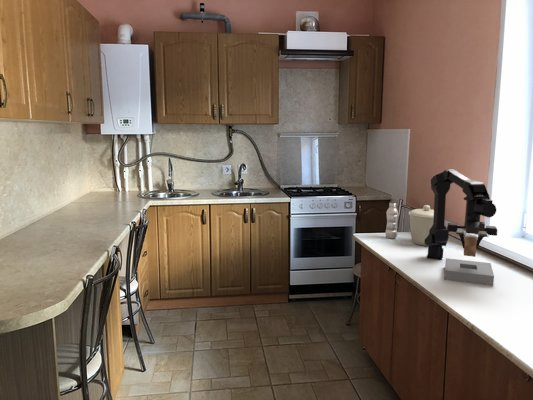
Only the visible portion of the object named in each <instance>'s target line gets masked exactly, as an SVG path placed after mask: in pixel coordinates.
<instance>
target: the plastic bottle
mask: <svg viewBox="0 0 533 400" xmlns="http://www.w3.org/2000/svg"><path fill="white" fill-rule="evenodd" d="M388 204H389V205H388V208H387V210H386V229H385V232H384V233H385V236H386V238H388V239H396V238H397V237H398V226H397V224H398V216H399V211H398V208H397V202H389V203H388Z"/></svg>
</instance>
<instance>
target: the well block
mask: <svg viewBox="0 0 533 400" xmlns="http://www.w3.org/2000/svg"><path fill="white" fill-rule="evenodd" d="M444 263H445V265H444V281H445V280H446V281H452V282H453V281H454V282H461V283H469V284H470V283H471V284H478V285H483V286H494V281H495V274H494V270H493V267H492V264H491V262H485V261H474V260H467V259H466V260H465V259H459V258H458V259H456V258H447V257H446V258H445V262H444Z"/></svg>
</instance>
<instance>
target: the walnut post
mask: <svg viewBox="0 0 533 400" xmlns="http://www.w3.org/2000/svg"><path fill="white" fill-rule="evenodd" d="M477 237H478V235H477V234H474V235H473V234H464V244H465V245H464V248H463V256H466V257H472V258H473V257H476V255H477V253H476V252H477V250H476V244H477Z"/></svg>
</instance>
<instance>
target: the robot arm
mask: <svg viewBox="0 0 533 400" xmlns="http://www.w3.org/2000/svg"><path fill="white" fill-rule="evenodd" d="M451 184H455V185H456V186H458V187H459V188H461V189H462V190H461V191H462V192H463V193H464V195H465V196H464V197H463V200H464V201H465V202H466V203H465V214H464V223H463V224H464V225H459V224H458V223H457V222H447V228H446V226H445V224H446V223H445V222H446V203H447V194H448V192H450V189H451ZM430 187H431V191H432V192H433V195H434V200H433V201H434V202H433V210H434V220H433V225H432V227H431V228H430V230H429V235H428V236H427V237H426V239H425V244H426V245H428V246H427V247H428V248H427V256H426V258H427V259H431V260H440V261H441V260H443V259H442V258H444V248H443V247H446V246H447V245H448V241H449V238H450V237H449V233H450V232H451V233H455V234H456V235H458V236H459V238H460V240H461V245H462V249H464V245H465V244H464V242H465V233H466V234H474V235H477V244H476V251H477V250H478V248H479V246H480V244H481V242H482V240H483V239H484V238H485V237H488V236H498V229H497V227H496V226H495V225H486V222H485V221H481V216H482V217H486V218H492V217H494V216H495V215H496V213H497V207H496V205H495V204H494V203H493V200H492V199H491V198H490V194H489V192H488V189H487V187H486V184H485V183H484V182H482V181H479V180H473V179H470V178H469V177H466V176H465V175H463V174H462V173H460V172H459V171H457V170H456V169H450V168H449V169H445V170H443V171H442V172H440V173H437V174H435V175H434V176H433V177H432V178H431V179H430Z"/></svg>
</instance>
